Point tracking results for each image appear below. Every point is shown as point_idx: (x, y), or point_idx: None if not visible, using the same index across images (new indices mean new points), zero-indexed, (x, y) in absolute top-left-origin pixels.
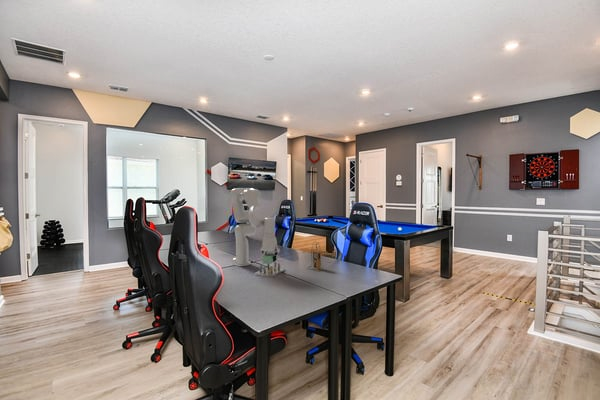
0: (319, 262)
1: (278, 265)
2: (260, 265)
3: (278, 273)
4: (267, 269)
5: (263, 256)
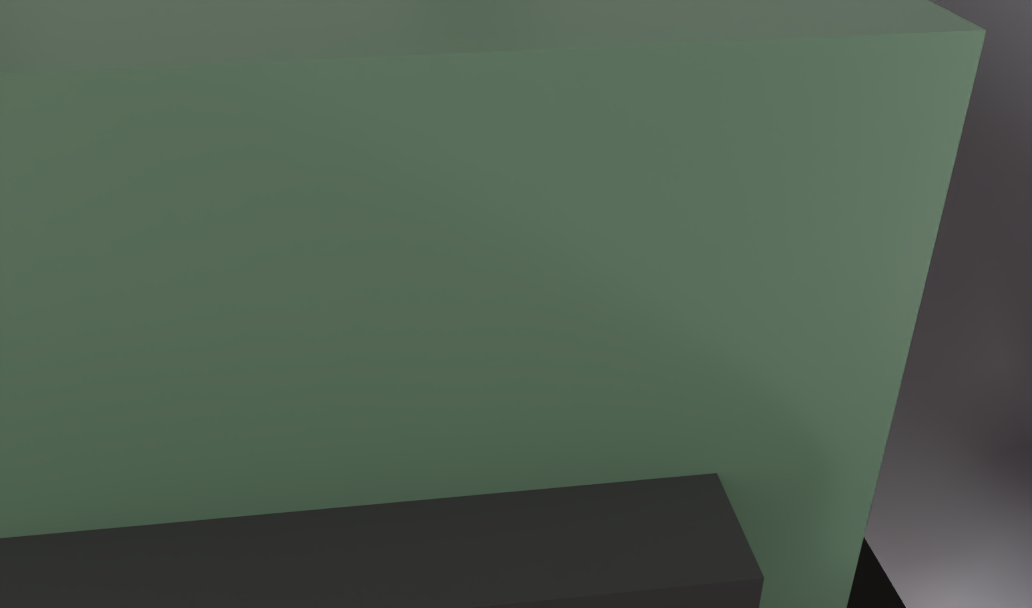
0: None
1: None
2: None
3: None
4: None
5: (818, 30)
